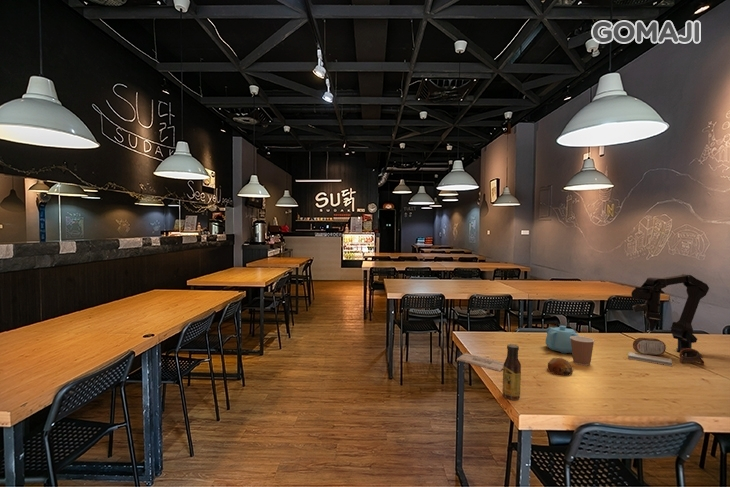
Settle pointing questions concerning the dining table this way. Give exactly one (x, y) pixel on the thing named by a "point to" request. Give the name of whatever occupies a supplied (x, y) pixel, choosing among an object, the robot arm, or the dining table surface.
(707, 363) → the dining table surface
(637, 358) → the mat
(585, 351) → the coffee cup
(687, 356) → the pottery mug
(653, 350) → the tin
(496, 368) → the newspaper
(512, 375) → the sauce bottle
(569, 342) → the decorative pot
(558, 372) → the bread roll
